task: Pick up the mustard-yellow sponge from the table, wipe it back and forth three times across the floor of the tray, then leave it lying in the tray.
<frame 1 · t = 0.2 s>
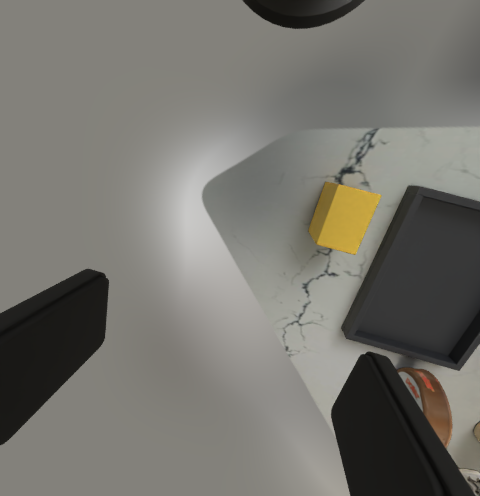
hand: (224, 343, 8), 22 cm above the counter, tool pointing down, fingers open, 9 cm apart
tin: (393, 393, 35), on the counter
decorative candle: (459, 484, 38), on the counter
sponge: (332, 211, 28), on the counter
tray: (430, 280, 29), on the counter
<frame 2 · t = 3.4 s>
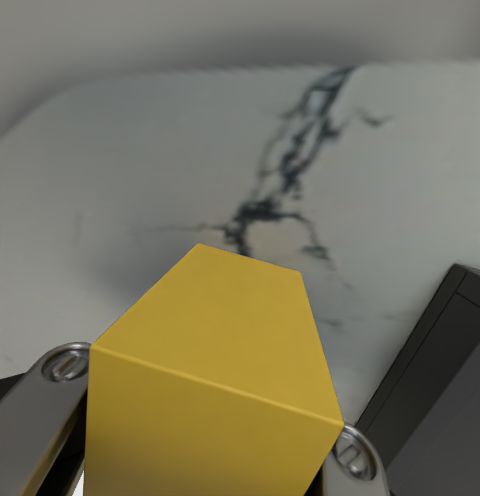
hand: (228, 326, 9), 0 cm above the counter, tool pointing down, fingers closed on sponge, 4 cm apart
sponge: (230, 321, 10), on the counter, touching gripper
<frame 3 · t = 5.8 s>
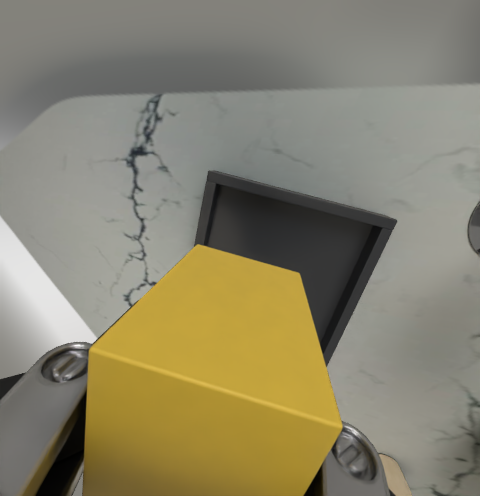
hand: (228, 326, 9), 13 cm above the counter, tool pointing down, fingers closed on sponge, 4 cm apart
candle: (374, 466, 29), on the counter
sponge: (229, 322, 10), point 12 cm above the counter, touching gripper
tray: (266, 292, 23), on the counter
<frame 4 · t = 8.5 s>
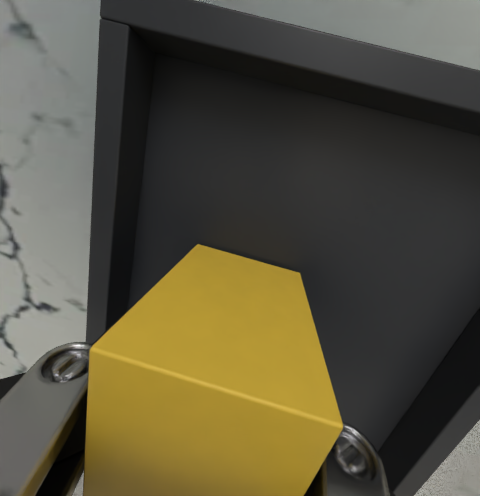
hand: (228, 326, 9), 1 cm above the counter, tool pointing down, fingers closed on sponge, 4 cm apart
sponge: (229, 322, 10), point 1 cm above the counter, touching gripper
tray: (272, 331, 11), on the counter
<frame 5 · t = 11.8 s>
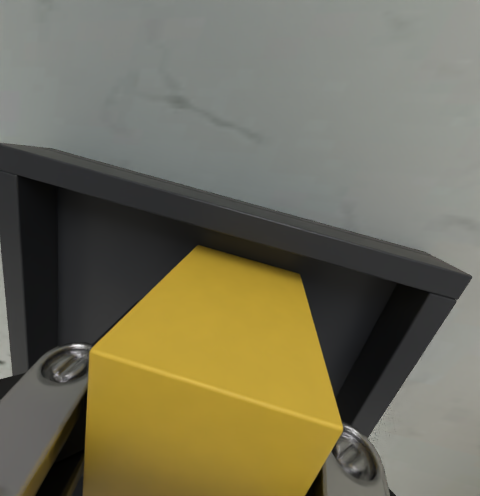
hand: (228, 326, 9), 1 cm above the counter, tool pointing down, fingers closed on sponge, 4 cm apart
sponge: (230, 323, 10), point 1 cm above the counter, touching gripper
tray: (187, 387, 12), on the counter
when the fingers open (1 cm above the counter, at t = 14.1 s): sponge stays where it is, resting on tray.
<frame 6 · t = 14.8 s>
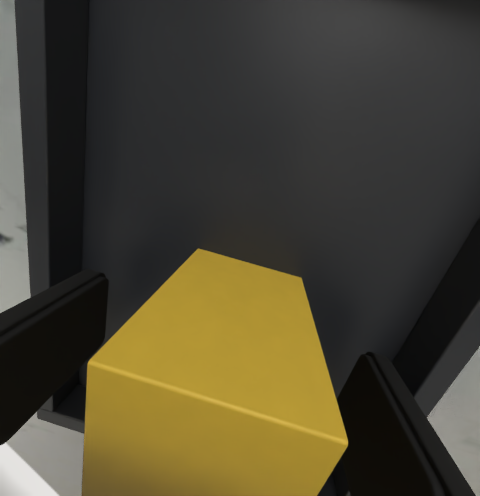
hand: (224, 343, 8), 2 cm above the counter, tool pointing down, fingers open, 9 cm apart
sponge: (230, 327, 10), point 1 cm above the counter, touching tray
tray: (250, 253, 9), on the counter
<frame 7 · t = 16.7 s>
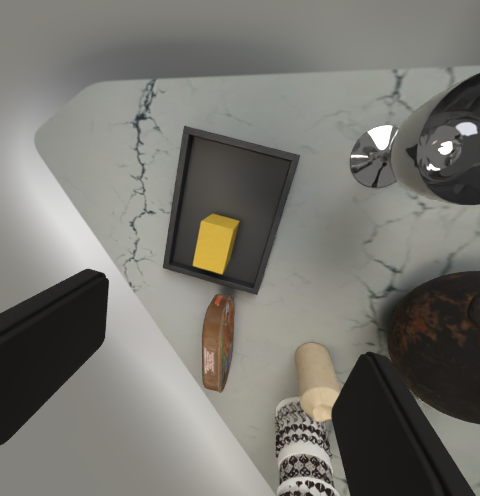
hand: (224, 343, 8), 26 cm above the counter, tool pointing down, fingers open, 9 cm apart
tin: (224, 324, 39), on the counter
decorative candle: (298, 412, 43), on the counter
candle: (311, 355, 39), on the counter
sponge: (221, 236, 34), point 1 cm above the counter, touching tray
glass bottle: (436, 314, 34), on the counter
tray: (226, 215, 33), on the counter
wine glass: (380, 157, 29), on the counter
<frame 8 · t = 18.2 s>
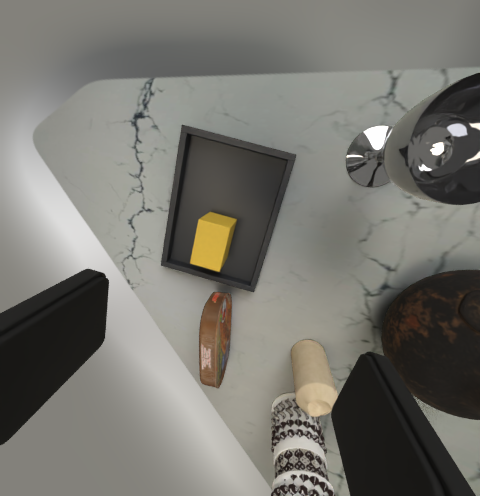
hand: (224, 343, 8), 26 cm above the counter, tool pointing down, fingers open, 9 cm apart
tin: (222, 321, 40), on the counter
decorative candle: (294, 408, 44), on the counter
candle: (307, 352, 39), on the counter
sponge: (218, 235, 34), point 1 cm above the counter, touching tray
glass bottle: (429, 311, 35), on the counter
tray: (224, 213, 34), on the counter
wine glass: (375, 157, 29), on the counter
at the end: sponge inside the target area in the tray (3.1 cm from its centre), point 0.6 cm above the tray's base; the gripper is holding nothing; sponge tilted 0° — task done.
